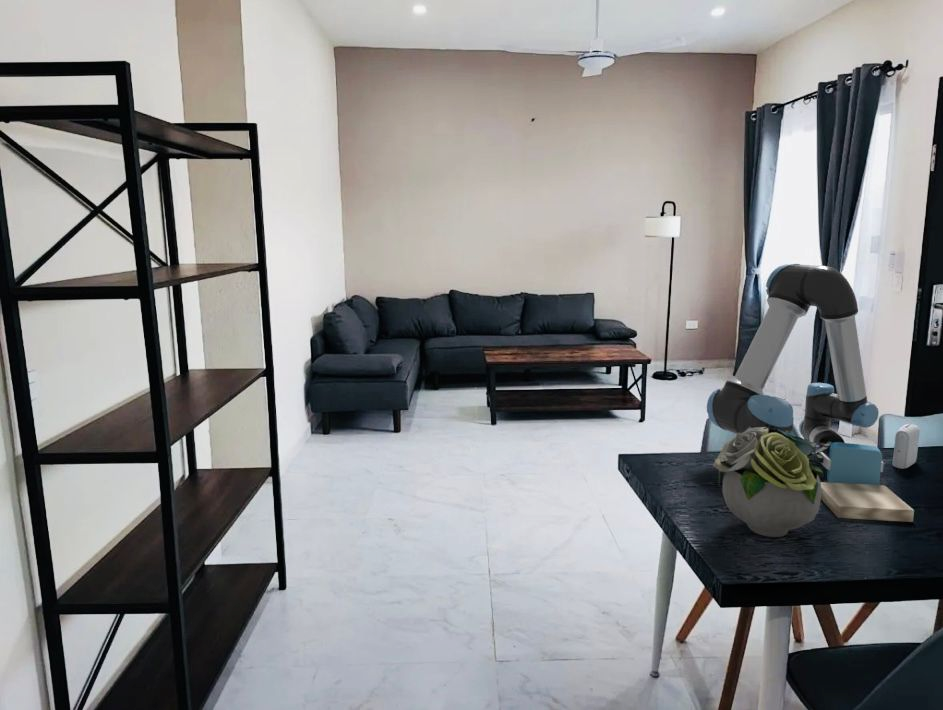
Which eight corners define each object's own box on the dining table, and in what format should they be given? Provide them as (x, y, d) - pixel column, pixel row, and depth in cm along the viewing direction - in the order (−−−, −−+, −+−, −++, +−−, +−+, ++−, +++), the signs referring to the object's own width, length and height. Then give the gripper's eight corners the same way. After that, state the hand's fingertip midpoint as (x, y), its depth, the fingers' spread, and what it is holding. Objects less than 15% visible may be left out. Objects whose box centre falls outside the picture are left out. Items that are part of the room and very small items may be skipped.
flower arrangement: (695, 510, 172) (701, 417, 167) (791, 507, 173) (799, 415, 169) (739, 556, 147) (747, 449, 143) (850, 553, 149) (862, 446, 144)
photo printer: (906, 470, 200) (911, 429, 197) (889, 466, 203) (894, 426, 201) (918, 462, 206) (923, 423, 204) (902, 458, 209) (906, 420, 207)
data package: (875, 488, 186) (880, 446, 184) (878, 494, 182) (882, 451, 180) (826, 482, 190) (830, 441, 188) (827, 487, 186) (832, 445, 184)
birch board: (837, 517, 167) (839, 506, 166) (815, 492, 183) (816, 481, 182) (912, 522, 164) (914, 510, 164) (883, 495, 180) (884, 485, 180)
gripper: (869, 455, 204) (903, 481, 183) (782, 451, 207) (805, 476, 187) (872, 431, 202) (906, 454, 182) (784, 428, 206) (808, 450, 185)
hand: (855, 465), depth 184 cm, fingers closed on data package, 13 cm apart
